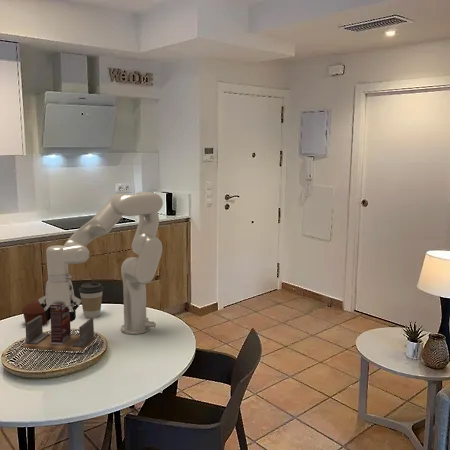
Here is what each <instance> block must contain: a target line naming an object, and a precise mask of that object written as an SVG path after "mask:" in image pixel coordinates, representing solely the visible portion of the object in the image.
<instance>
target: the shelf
mask: <svg viewBox="0 0 450 450" xmlns="http://www.w3.org/2000/svg"><path fill="white" fill-rule="evenodd" d="M94 324H95V323H94V318H88V320H87V321H86V322H84V323H83V324H81V325H80V326H79V330H78V331H79V335H77V334H76V335H74V334H71V337H70V338H69V339H68V340H67V341H66V342H65V343H64V344H63V345H54V344H51V333H45V332H44V331H43V326H42V316H38V317H36V318H34V319H33V320H31V321H29V322H28V323H25V341H26V343H24V344H23V348H29V349H40V350H54V351H83V350H84V349H85V348H86V347H87V346H89V345H90V344H91V343H92V342H93V341H94V340H95V339H96V338H98V337H97V336H95V330H94V329H95V328H94V327H95V325H94Z"/></svg>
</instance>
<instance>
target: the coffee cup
mask: <svg viewBox="0 0 450 450" xmlns="http://www.w3.org/2000/svg"><path fill="white" fill-rule="evenodd" d="M104 290H105V289H104V286H103V285H102V283H100V282H86V283H82V284H81V285H80V287H79V288H78V292H79V294H80V299H81V307H82V313H83V316H84V318H85V319H96V318H99V317H100V316H101V312H102V311H101V310H102V302H103V301H102V300H103V291H104Z"/></svg>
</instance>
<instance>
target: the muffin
mask: <svg viewBox="0 0 450 450" xmlns="http://www.w3.org/2000/svg"><path fill="white" fill-rule="evenodd" d="M21 312H22V313H23V318H24V323H25V324H26V323H28V322H29V321H31V320H33V319H34V318H36V317H38V316H42V327H43V326H44V325H47V323H48V321H47V318H46V311H45V310H44V308H43V307H42V306H41V304H40V302H39V300H33V301H30V302H28V303H26V304H25V305H24V306H23V309H22V310H21Z"/></svg>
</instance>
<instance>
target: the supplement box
mask: <svg viewBox="0 0 450 450" xmlns="http://www.w3.org/2000/svg"><path fill="white" fill-rule="evenodd" d="M70 312H71V311H70V310H69V308H68V307H64V305H63V304H58V303H53V304H51V305H50V315H51V319H50V334H51V344H54V345H63V344H64V343H65V342H66V341H67V340H68V339H69V338H70V337H71V335H72V333H71V332H72V331H71V330H72V329H71V328H72V327H71V322H70V314H69V313H70Z"/></svg>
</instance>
